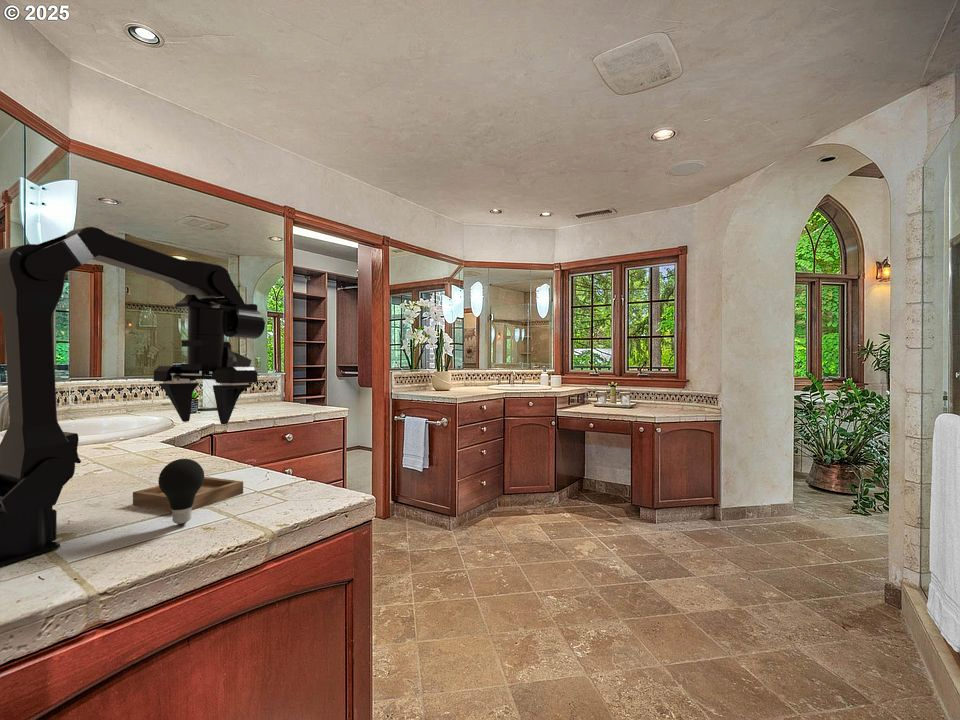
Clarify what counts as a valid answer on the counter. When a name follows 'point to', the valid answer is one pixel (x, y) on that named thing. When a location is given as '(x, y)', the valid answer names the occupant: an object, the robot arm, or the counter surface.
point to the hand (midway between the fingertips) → (204, 422)
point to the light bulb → (181, 487)
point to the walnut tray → (205, 495)
